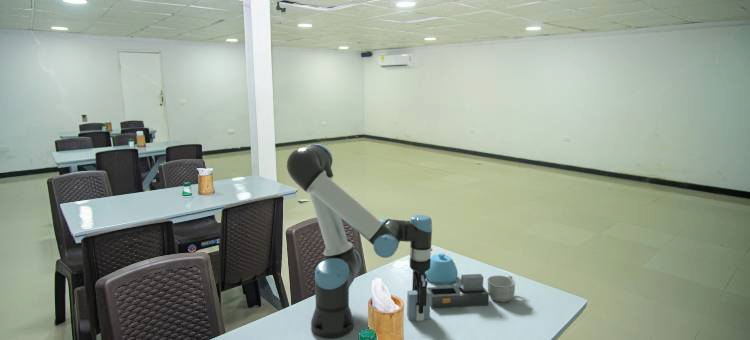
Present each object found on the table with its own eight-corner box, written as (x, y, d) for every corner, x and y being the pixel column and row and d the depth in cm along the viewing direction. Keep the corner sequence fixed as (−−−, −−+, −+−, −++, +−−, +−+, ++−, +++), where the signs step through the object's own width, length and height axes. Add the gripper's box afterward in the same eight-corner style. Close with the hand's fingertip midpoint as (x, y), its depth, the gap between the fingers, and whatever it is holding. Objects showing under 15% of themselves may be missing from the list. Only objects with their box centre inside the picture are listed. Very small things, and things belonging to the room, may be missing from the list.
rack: (431, 309, 159) (432, 282, 157) (426, 298, 167) (427, 273, 164) (488, 306, 162) (490, 280, 160) (481, 296, 169) (482, 271, 167)
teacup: (501, 307, 160) (503, 289, 159) (480, 296, 169) (481, 278, 168) (524, 298, 168) (525, 280, 167) (503, 287, 177) (504, 270, 175)
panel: (408, 319, 151) (409, 294, 150) (406, 315, 154) (407, 290, 152) (429, 318, 152) (430, 293, 150) (427, 314, 155) (428, 289, 153)
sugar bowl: (422, 270, 193) (423, 247, 191) (454, 271, 193) (455, 248, 191) (425, 285, 179) (426, 260, 176) (459, 286, 178) (461, 261, 176)
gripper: (436, 267, 141) (434, 328, 145) (424, 248, 158) (422, 303, 162) (415, 268, 140) (413, 330, 144) (405, 248, 157) (404, 304, 161)
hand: (418, 316), depth 153 cm, fingers open, 4 cm apart
